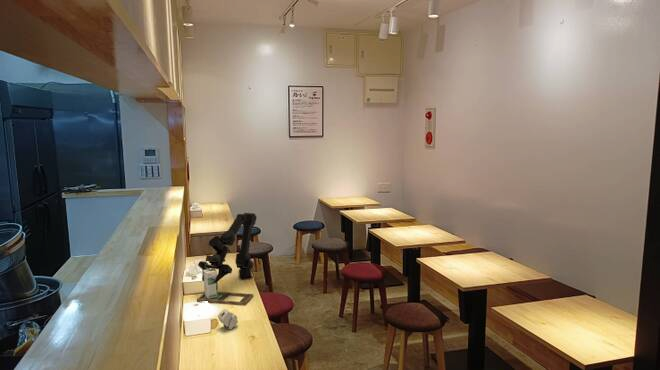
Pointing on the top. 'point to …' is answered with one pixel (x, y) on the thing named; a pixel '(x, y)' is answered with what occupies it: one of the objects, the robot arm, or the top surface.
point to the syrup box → (210, 283)
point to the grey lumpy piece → (227, 319)
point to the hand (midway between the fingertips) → (208, 281)
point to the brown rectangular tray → (224, 295)
